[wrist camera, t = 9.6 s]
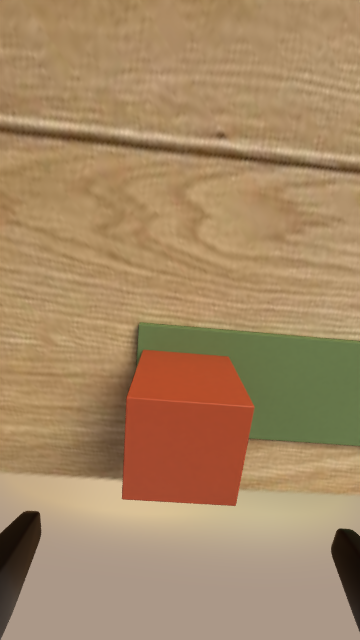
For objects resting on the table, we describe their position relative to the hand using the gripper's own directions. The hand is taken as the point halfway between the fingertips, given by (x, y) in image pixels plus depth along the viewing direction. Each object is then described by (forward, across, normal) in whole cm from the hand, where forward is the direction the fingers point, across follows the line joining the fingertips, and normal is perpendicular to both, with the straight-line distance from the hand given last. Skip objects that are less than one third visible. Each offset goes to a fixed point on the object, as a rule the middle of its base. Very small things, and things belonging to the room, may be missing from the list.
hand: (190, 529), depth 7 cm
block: (+8, 0, 0) cm, 8 cm away
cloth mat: (+8, -7, 0) cm, 11 cm away
